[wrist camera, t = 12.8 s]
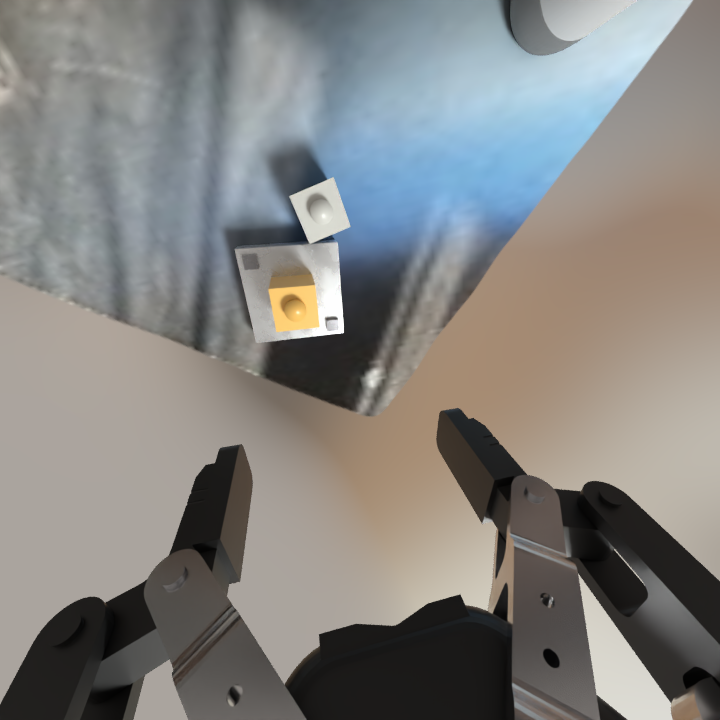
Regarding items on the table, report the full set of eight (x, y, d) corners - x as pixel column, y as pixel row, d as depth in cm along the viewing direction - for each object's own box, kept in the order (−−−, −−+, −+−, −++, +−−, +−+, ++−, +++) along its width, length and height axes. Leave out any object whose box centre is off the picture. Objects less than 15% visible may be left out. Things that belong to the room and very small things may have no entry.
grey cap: (289, 196, 35) (289, 196, 30) (327, 180, 35) (334, 176, 30) (307, 238, 38) (310, 245, 32) (343, 223, 38) (351, 227, 32)
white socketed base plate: (238, 245, 36) (228, 254, 30) (334, 239, 38) (342, 246, 32) (258, 334, 42) (253, 356, 36) (340, 324, 44) (348, 344, 38)
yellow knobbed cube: (271, 277, 36) (267, 291, 30) (312, 274, 37) (315, 286, 31) (278, 315, 38) (276, 334, 33) (316, 312, 39) (320, 329, 34)
